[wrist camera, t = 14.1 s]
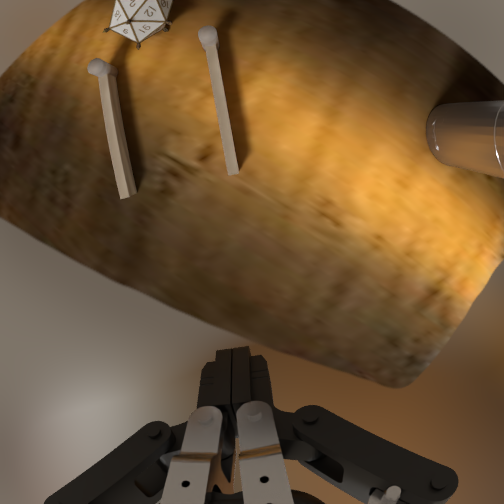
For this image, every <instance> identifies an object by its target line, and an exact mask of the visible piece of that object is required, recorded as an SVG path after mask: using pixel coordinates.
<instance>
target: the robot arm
mask: <svg viewBox="0 0 504 504" xmlns="http://www.w3.org/2000/svg"><path fill="white" fill-rule="evenodd" d="M426 136H427V141H428V144H429V147H430V149H431V151H432V153H433V155H434V156H435V157H436V158H437V159H438V160H439V161H440V162H441V163H443V164H445V165H449V166H454V167H458V168H463V169H467V170H471V171H475V172H480V173H484V174H488V175H492V176H496V177H500V178H504V101H482V102H464V103H450V104H442V105H439V106H437V107H436V108H435V109H434V110H433V111H432V112H431V114H430V115H429V118H428V121H427V126H426ZM215 360H216V361H214V362H207V363H206V365H205V366H204V368H203V369H202V373H201V380H200V387H199V394H198V402H197V409H196V410H194V411H193V412H192V413H191V415H190V416H189V419H188V421H186V422H185V423H182V424H179V425H176V426H172V427H169V425H168V424H166V423H164V422H162V421H154V422H150V423H148V424H146V425H145V426H143V427H142V428H141V429H140V430H138V431H137V432H136V433H135V434H133V435H132V436H131V437H130V438H128V439H127V440H126V441H124V442H123V443H122V444H121V445H119V446H118V447H117V448H115V449H114V450H113V451H112V452H110V453H109V454H108V455H106V456H105V457H104V458H102V459H101V460H100V461H98V462H97V463H96V464H94V465H93V466H92V467H90V468H89V469H88V470H86V471H85V472H83V473H82V474H81V475H79V476H78V477H77V478H75V479H74V480H72V481H71V482H69V483H68V484H67V485H65V486H64V487H62V488H61V489H60V490H58V491H57V492H55V493H54V494H53V495H51V496H49V497H48V498H47V499H46V500H45V502H44V504H155V503H157V502H158V501H159V500H160V499H161V498H162V499H161V503H159V504H325V503H324V502H322V501H321V500H319V499H318V498H316V497H314V496H312V495H310V494H308V493H305V492H301V491H297V490H291V489H290V485H289V481H288V477H287V473H286V468H285V464H284V460H283V459H290V460H298V461H299V463H300V464H301V465H303V466H304V467H306V468H307V469H309V470H310V471H312V472H314V473H315V474H316V475H318V476H320V477H321V478H323V479H324V480H326V481H327V482H329V483H331V484H332V485H334V486H335V487H337V488H339V489H340V490H342V491H344V492H346V493H347V494H349V495H351V496H352V497H354V498H356V499H358V500H359V501H361V502H363V503H365V504H445V503H446V502H447V501H448V499H449V498H450V497H451V496H452V495H453V493H454V492H455V491H456V489H457V487H458V476H457V474H456V473H455V471H454V470H452V469H451V468H449V467H447V466H444V465H441V464H439V463H436V462H434V461H432V460H429V459H427V458H425V457H422V456H420V455H418V454H415V453H413V452H411V451H409V450H406V449H404V448H402V447H400V446H398V445H395V444H393V443H391V442H389V441H387V440H385V439H383V438H380V437H378V436H376V435H374V434H372V433H370V432H368V431H366V430H364V429H362V428H360V427H358V426H356V425H354V424H353V423H351V422H349V421H347V420H344V419H343V418H341V417H339V416H337V415H335V414H334V413H332V412H330V411H328V410H326V409H324V408H323V407H320V406H317V405H308V406H304V407H302V408H300V409H298V410H297V411H296V412H295V413H290V412H284V411H281V410H279V409H277V408H275V406H274V404H273V396H272V388H271V381H270V376H269V371H268V366H267V361H266V360H265V359H264V358H263V356H262V355H257V356H251V353H250V349H249V346H245V347H238V348H233V349H224V350H217V351H216V359H215ZM235 438H239V444H240V454H239V464H240V474H241V481H242V490H243V491H241V492H238V493H234V475H235V464H236V448H235Z"/></svg>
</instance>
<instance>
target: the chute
mask: <svg viewBox="0 0 504 504" xmlns="http://www.w3.org/2000/svg"><path fill="white" fill-rule="evenodd" d="M198 36H199V39H200V41H201V44H202V46H203V49H204V50H205V51H206V55H207V60H208V66H209V72H210V77H211V83H212V89H213V94H214V100H215V105H216V111H217V116H218V122H219V127H220V133H221V138H222V144H223V149H224V155H225V160H226V166H227V171H228V175H234V174H239V169H238V163H237V157H236V152H235V146H234V141H233V135H232V130H231V124H230V119H229V113H228V108H227V102H226V96H225V91H224V85H223V80H222V74H221V69H220V63H219V58H218V52H217V51H218V49H219V47H220V45H219V40H218V35H217V31H216V29H215V28H214V27H212V26H204V27H202V28H201V29H200V30H199V32H198ZM88 72H89V73H90V74H93V75H95V76H98V79H99V87H100V94H101V101H102V108H103V114H104V120H105V126H106V132H107V137H108V143H109V148H110V153H111V158H112V163H113V168H114V172H115V177H116V181H117V186H118V190H119V194H120V199H123V198H127V197H130V196H132V195H134V194H136V193H137V190H136V186H135V181H134V177H133V172H132V167H131V163H130V158H129V153H128V148H127V143H126V137H125V132H124V126H123V121H122V115H121V109H120V102H119V96H118V89H117V82H116V77H117V75H118V69H117V68H116V67H114V66H112V65H110V64H109V63H107V62H105V61H103V60H101V59H99V58H95V59H93V60H92V61H91V62H90V63H89V65H88Z"/></svg>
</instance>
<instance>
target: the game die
mask: <svg viewBox="0 0 504 504" xmlns="http://www.w3.org/2000/svg"><path fill="white" fill-rule="evenodd" d="M173 1H174V0H115V3H114V7H113V11H112V16H111V20H110V25H109V28H106V29H104V31H103V32H107V31H109V30H112V31H114V32H116V33H118V34H120V35H122V36H124V37H126V38H128V39H130V40H132V41H134V42H136V43H137V47H136V48H137V49H138V50H139V48H140V43H141V42H142V41H144V40H146V39H147V38H149V37H151V36H152V35H154V34H156V33H157V32H159V31H161V30H162V29H163V31H164V32H166V31H167V32H168V29H167V28H166V27H165V25H166V24H168V25H171V24H172V23H171V21H168V17H169V14H170V10H171V7H172V4H173Z"/></svg>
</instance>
